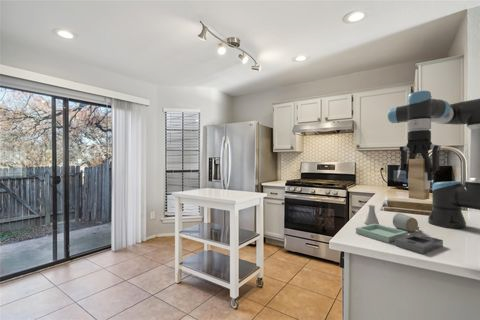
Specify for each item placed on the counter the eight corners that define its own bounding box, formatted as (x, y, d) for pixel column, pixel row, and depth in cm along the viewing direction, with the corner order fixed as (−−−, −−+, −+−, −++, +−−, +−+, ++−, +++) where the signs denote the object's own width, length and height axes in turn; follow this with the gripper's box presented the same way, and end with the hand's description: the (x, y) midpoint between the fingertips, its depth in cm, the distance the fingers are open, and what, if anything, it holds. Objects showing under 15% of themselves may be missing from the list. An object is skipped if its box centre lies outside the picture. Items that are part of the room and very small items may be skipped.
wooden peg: (414, 197, 97) (415, 159, 97) (429, 198, 93) (429, 159, 93) (408, 198, 95) (408, 159, 95) (423, 199, 90) (423, 159, 90)
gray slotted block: (414, 238, 102) (414, 232, 102) (442, 246, 93) (442, 239, 93) (394, 245, 94) (394, 238, 94) (423, 254, 86) (423, 247, 86)
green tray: (374, 228, 117) (374, 223, 117) (407, 237, 104) (407, 231, 104) (355, 233, 110) (355, 227, 110) (388, 243, 97) (388, 237, 97)
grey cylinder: (407, 233, 110) (407, 217, 110) (392, 228, 118) (392, 213, 118) (424, 231, 112) (424, 216, 112) (408, 227, 120) (408, 212, 120)
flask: (377, 222, 128) (377, 204, 128) (381, 226, 121) (381, 207, 121) (362, 221, 130) (362, 204, 130) (366, 225, 123) (366, 206, 123)
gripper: (390, 132, 100) (390, 186, 100) (442, 127, 84) (442, 191, 84) (399, 133, 103) (399, 185, 103) (451, 128, 87) (451, 190, 88)
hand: (418, 187), depth 94 cm, fingers closed on wooden peg, 5 cm apart
